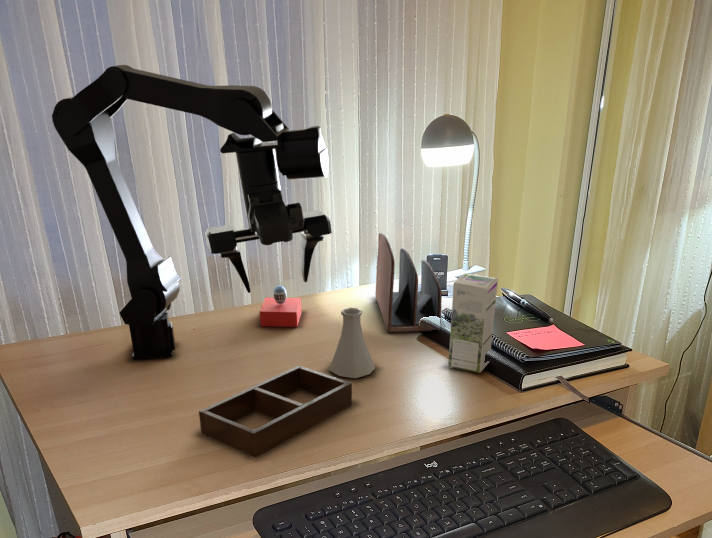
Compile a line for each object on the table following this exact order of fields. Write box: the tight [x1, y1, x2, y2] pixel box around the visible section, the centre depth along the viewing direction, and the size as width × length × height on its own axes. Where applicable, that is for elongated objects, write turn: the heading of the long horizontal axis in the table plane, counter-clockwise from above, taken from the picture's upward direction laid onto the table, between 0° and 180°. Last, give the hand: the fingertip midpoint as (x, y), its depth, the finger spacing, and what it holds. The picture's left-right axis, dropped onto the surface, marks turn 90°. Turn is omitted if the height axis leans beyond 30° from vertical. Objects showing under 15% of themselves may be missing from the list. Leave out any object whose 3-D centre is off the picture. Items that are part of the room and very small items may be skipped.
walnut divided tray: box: [198, 365, 353, 458], centre depth 110 cm, size 11×20×4 cm, turn 143°
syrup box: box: [447, 273, 499, 374], centre depth 125 cm, size 6×6×14 cm
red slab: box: [259, 285, 302, 328], centre depth 144 cm, size 8×7×6 cm
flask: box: [328, 307, 376, 379], centre depth 123 cm, size 7×7×10 cm
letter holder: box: [374, 232, 443, 334], centre depth 145 cm, size 10×20×14 cm, turn 7°
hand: (277, 286), depth 122 cm, fingers open, 9 cm apart
